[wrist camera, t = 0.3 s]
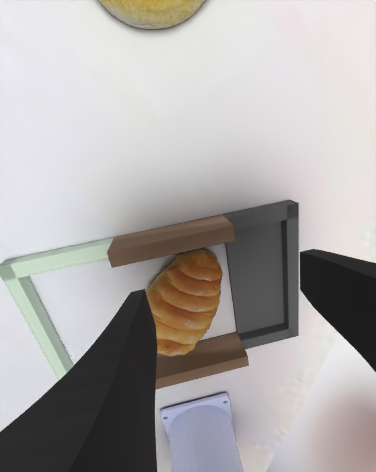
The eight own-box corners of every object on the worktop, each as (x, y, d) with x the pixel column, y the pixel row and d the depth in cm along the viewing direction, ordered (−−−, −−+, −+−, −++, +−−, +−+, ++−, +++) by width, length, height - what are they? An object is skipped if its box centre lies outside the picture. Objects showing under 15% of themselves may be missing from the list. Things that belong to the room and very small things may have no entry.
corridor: (237, 340, 24) (248, 365, 21) (153, 361, 24) (153, 389, 21) (221, 214, 19) (233, 225, 16) (114, 237, 18) (106, 252, 16)
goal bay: (153, 361, 24) (153, 372, 22) (70, 382, 23) (66, 394, 22) (114, 237, 18) (111, 242, 17) (6, 260, 18) (-4, 267, 17)
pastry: (168, 233, 19) (171, 251, 16) (236, 258, 21) (253, 279, 17) (130, 320, 22) (125, 353, 18) (194, 336, 23) (201, 368, 20)
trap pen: (291, 327, 24) (298, 335, 23) (237, 340, 24) (241, 349, 23) (290, 200, 19) (298, 202, 18) (221, 214, 19) (226, 218, 18)
